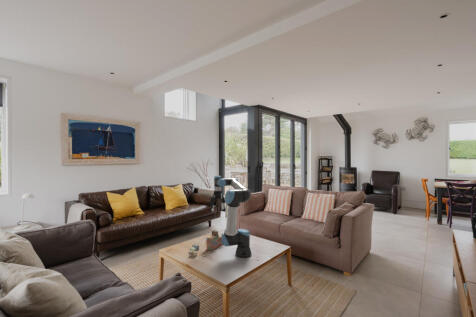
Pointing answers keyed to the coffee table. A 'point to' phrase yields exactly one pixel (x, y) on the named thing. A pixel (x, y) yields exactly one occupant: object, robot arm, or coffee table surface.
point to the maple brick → (193, 253)
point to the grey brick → (196, 246)
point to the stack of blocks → (214, 241)
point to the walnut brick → (214, 232)
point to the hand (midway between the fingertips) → (217, 210)
